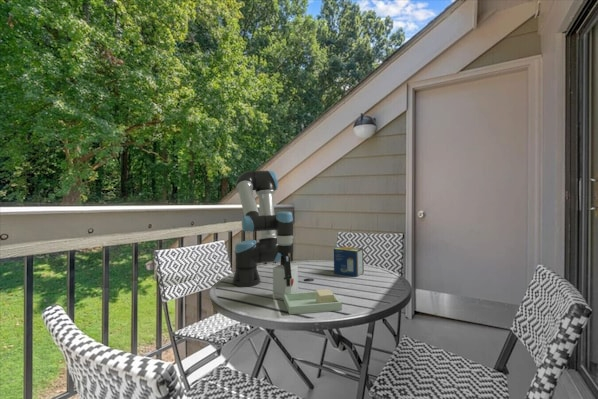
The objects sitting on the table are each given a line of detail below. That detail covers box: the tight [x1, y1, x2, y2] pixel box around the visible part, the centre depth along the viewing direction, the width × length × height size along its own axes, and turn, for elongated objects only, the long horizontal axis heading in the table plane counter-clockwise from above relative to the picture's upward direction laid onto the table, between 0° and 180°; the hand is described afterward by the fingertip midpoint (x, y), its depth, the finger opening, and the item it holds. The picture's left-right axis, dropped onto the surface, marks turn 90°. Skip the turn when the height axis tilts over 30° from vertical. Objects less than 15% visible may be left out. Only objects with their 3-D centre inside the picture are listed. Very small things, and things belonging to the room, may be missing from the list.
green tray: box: [283, 290, 343, 315], centre depth 135 cm, size 17×22×4 cm
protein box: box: [333, 245, 365, 278], centre depth 191 cm, size 10×15×16 cm
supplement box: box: [272, 264, 299, 300], centre depth 148 cm, size 9×9×15 cm
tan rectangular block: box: [315, 288, 335, 304], centre depth 137 cm, size 8×6×5 cm
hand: (285, 288), depth 148 cm, fingers open, 13 cm apart
